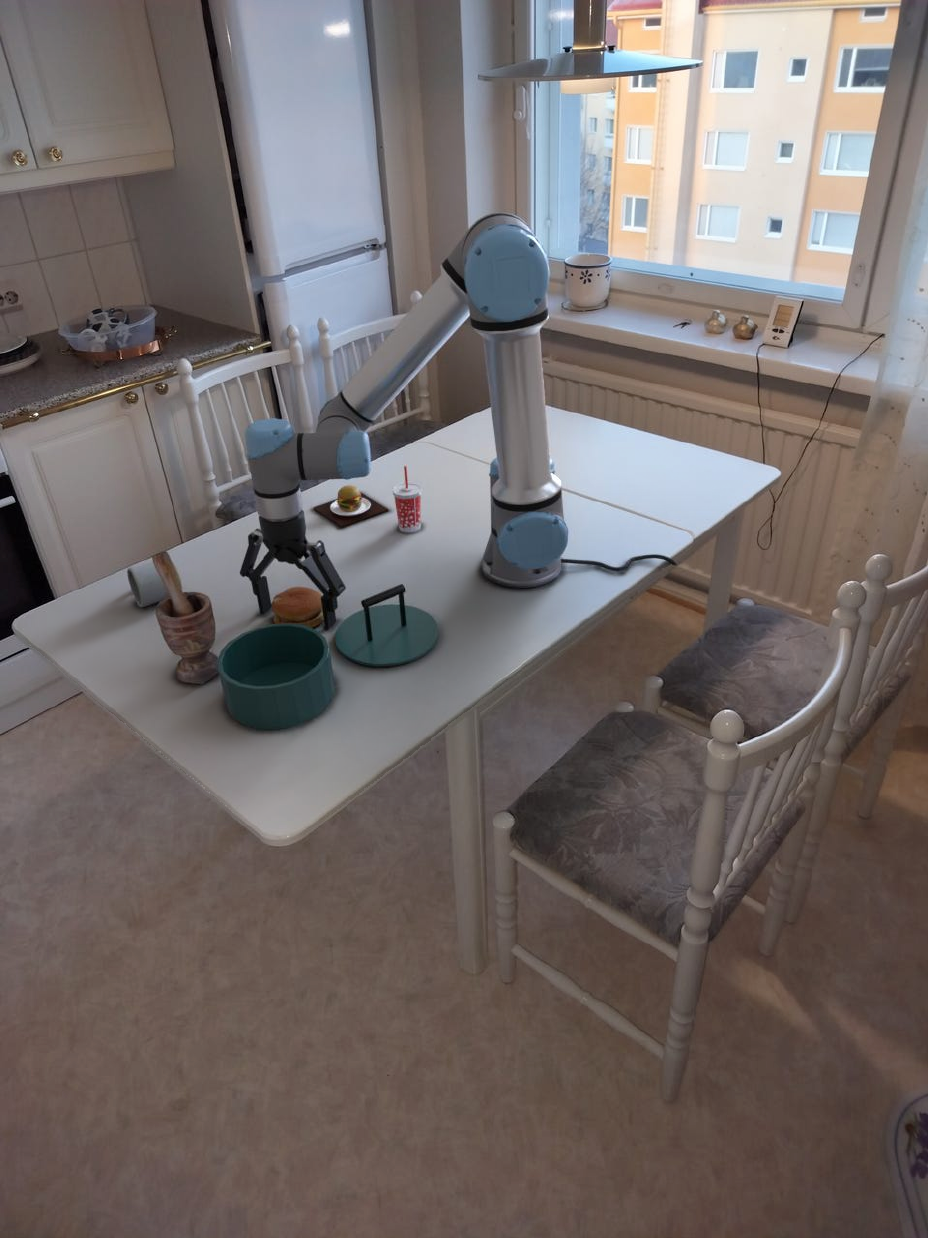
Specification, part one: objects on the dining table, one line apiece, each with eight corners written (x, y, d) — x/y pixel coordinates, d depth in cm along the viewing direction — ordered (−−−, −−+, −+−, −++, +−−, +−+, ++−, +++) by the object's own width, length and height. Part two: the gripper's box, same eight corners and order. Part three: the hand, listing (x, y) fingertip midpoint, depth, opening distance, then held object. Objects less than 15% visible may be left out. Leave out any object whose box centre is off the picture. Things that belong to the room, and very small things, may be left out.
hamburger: (341, 528, 185) (338, 505, 182) (313, 509, 193) (310, 486, 190) (388, 511, 191) (386, 488, 188) (359, 493, 199) (356, 471, 196)
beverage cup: (415, 517, 188) (410, 457, 180) (429, 528, 184) (425, 467, 176) (390, 526, 185) (384, 465, 177) (404, 537, 181) (399, 475, 173)
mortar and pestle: (150, 669, 146) (120, 566, 134) (190, 643, 151) (164, 543, 140) (196, 692, 140) (168, 587, 129) (236, 665, 146) (213, 562, 135)
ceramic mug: (187, 599, 163) (178, 563, 159) (145, 614, 160) (134, 578, 155) (168, 577, 171) (158, 543, 167) (126, 591, 167) (116, 556, 163)
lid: (460, 641, 149) (458, 595, 144) (371, 683, 140) (365, 636, 135) (401, 598, 161) (398, 554, 156) (317, 634, 153) (309, 589, 147)
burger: (330, 626, 154) (327, 604, 152) (278, 637, 152) (274, 615, 149) (320, 598, 162) (316, 577, 160) (270, 609, 160) (265, 587, 157)
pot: (354, 699, 137) (348, 658, 133) (256, 745, 129) (247, 704, 125) (302, 650, 149) (296, 611, 144) (209, 690, 140) (199, 650, 136)
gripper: (357, 514, 144) (368, 619, 156) (231, 491, 152) (251, 593, 164) (334, 534, 138) (348, 642, 150) (205, 510, 146) (228, 614, 158)
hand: (297, 617), depth 157 cm, fingers open, 13 cm apart
